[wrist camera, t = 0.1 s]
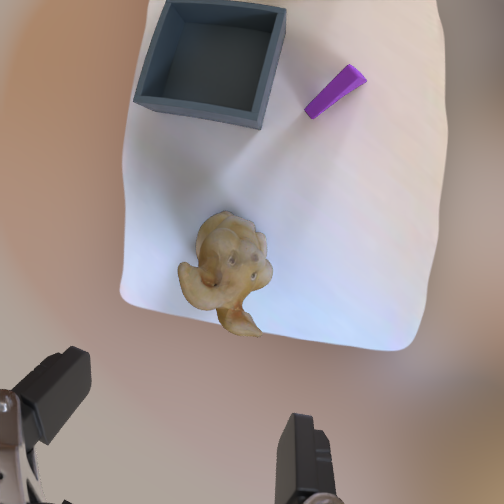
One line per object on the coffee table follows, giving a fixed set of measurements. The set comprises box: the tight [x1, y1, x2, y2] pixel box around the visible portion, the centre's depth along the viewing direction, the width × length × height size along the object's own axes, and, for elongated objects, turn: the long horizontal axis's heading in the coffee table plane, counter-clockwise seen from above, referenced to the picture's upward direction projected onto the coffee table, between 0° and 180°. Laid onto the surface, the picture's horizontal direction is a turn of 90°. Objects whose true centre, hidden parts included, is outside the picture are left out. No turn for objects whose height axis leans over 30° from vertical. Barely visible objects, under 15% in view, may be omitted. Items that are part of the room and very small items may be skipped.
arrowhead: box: [304, 64, 367, 119], centre depth 31 cm, size 10×2×10 cm
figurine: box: [178, 211, 273, 337], centre depth 32 cm, size 10×8×15 cm
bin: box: [133, 0, 286, 130], centre depth 31 cm, size 14×14×7 cm
